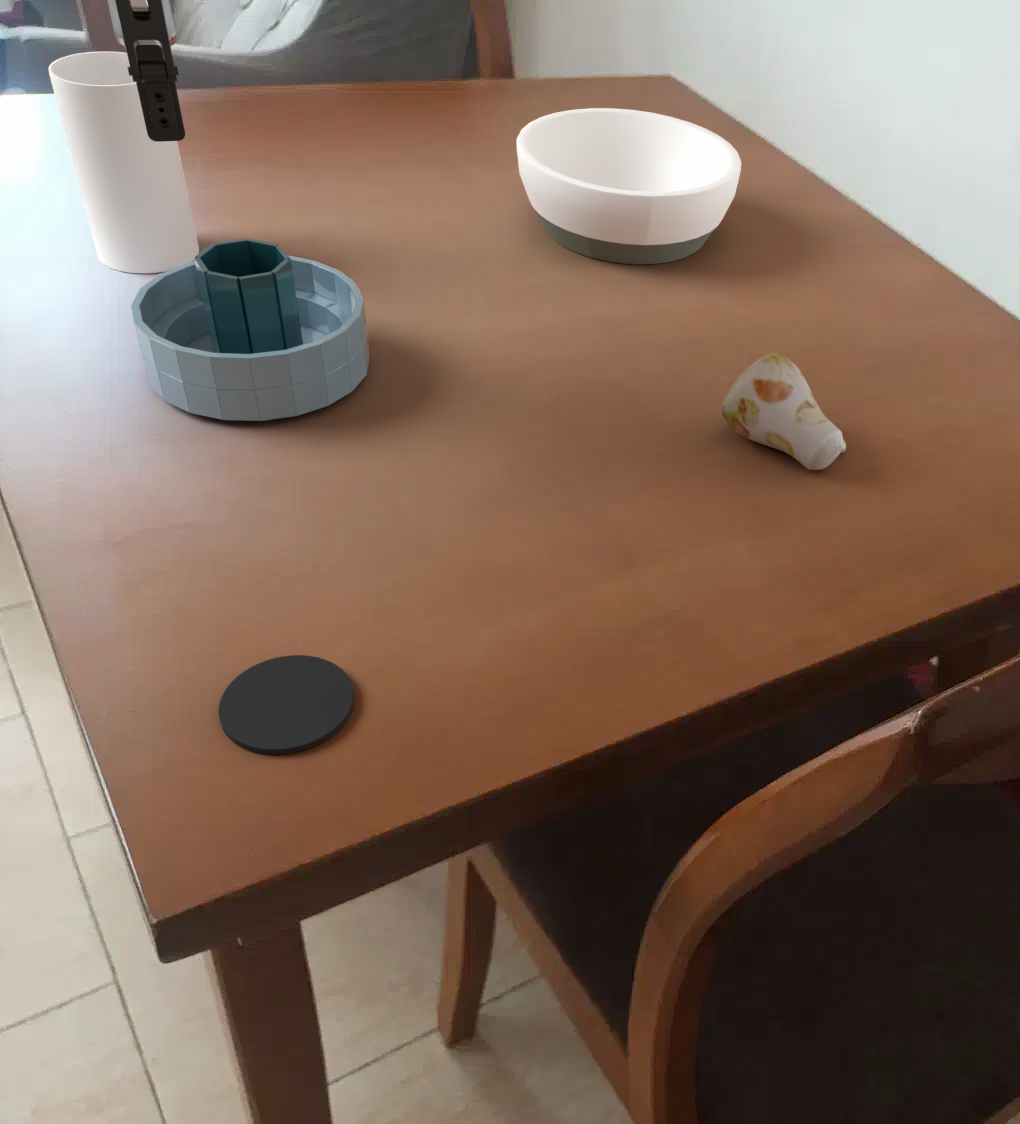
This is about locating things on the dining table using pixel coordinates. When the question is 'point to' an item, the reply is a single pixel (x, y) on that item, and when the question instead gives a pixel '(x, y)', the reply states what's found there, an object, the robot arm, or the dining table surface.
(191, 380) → the glazed bowl
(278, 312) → the teal cup
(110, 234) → the cup
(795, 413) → the white pear shape
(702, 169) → the bowl
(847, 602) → the dining table surface
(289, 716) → the coaster
